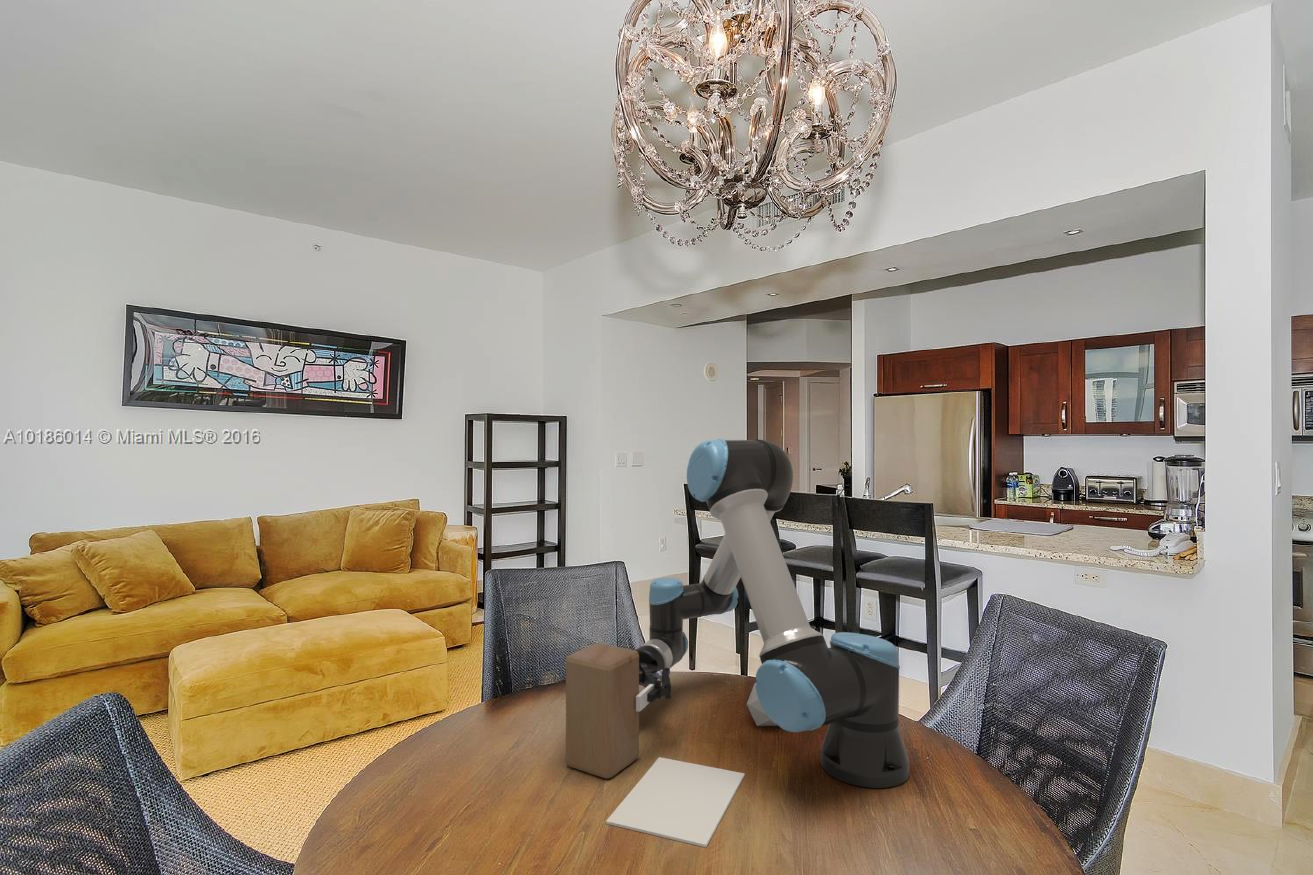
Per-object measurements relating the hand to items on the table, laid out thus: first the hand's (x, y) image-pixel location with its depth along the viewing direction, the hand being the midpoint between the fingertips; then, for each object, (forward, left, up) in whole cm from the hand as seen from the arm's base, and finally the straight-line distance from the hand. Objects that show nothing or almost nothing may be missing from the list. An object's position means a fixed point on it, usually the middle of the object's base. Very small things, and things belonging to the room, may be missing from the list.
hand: (603, 698), depth 123 cm
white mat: (-18, +8, -11) cm, 22 cm away
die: (-25, -26, -11) cm, 38 cm away
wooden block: (-1, +2, -11) cm, 11 cm away
